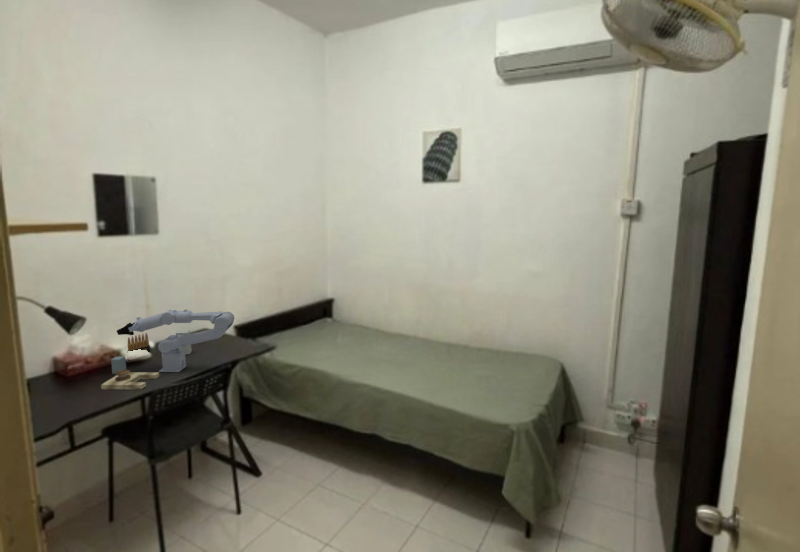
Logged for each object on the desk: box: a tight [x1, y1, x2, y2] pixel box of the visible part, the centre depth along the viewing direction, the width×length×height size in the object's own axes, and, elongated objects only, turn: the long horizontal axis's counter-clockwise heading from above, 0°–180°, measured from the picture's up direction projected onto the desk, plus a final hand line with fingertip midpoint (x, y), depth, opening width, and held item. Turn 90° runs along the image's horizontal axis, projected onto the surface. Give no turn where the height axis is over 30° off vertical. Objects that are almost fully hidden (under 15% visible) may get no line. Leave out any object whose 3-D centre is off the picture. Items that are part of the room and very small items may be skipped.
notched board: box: [100, 369, 160, 390], centre depth 189 cm, size 17×14×5 cm
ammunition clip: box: [127, 332, 151, 353], centre depth 220 cm, size 11×2×12 cm, turn 151°
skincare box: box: [175, 330, 192, 356], centre depth 226 cm, size 6×4×12 cm
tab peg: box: [110, 356, 127, 375], centre depth 201 cm, size 4×4×7 cm
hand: (122, 330), depth 201 cm, fingers open, 7 cm apart
